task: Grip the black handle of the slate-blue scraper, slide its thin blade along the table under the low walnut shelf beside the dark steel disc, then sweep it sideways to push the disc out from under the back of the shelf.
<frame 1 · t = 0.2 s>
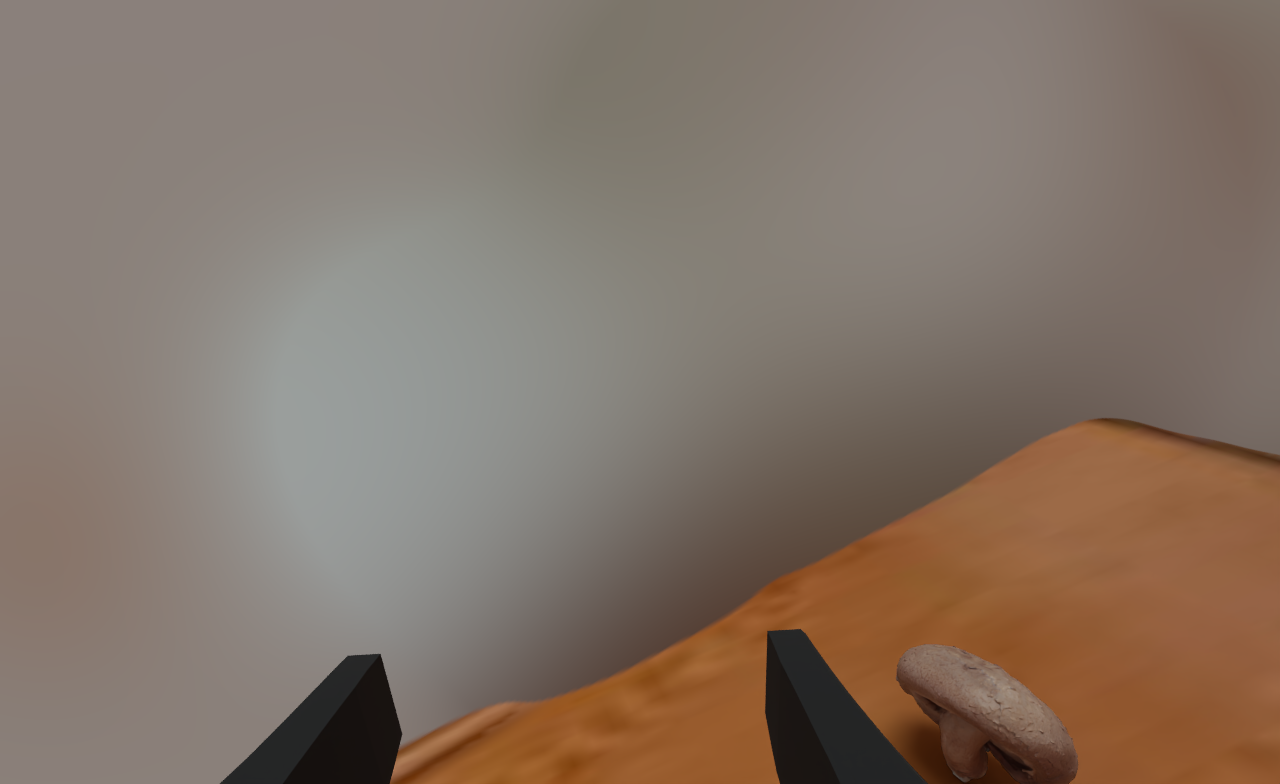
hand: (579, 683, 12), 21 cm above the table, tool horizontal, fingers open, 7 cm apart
mushroom: (967, 783, 31), on the table
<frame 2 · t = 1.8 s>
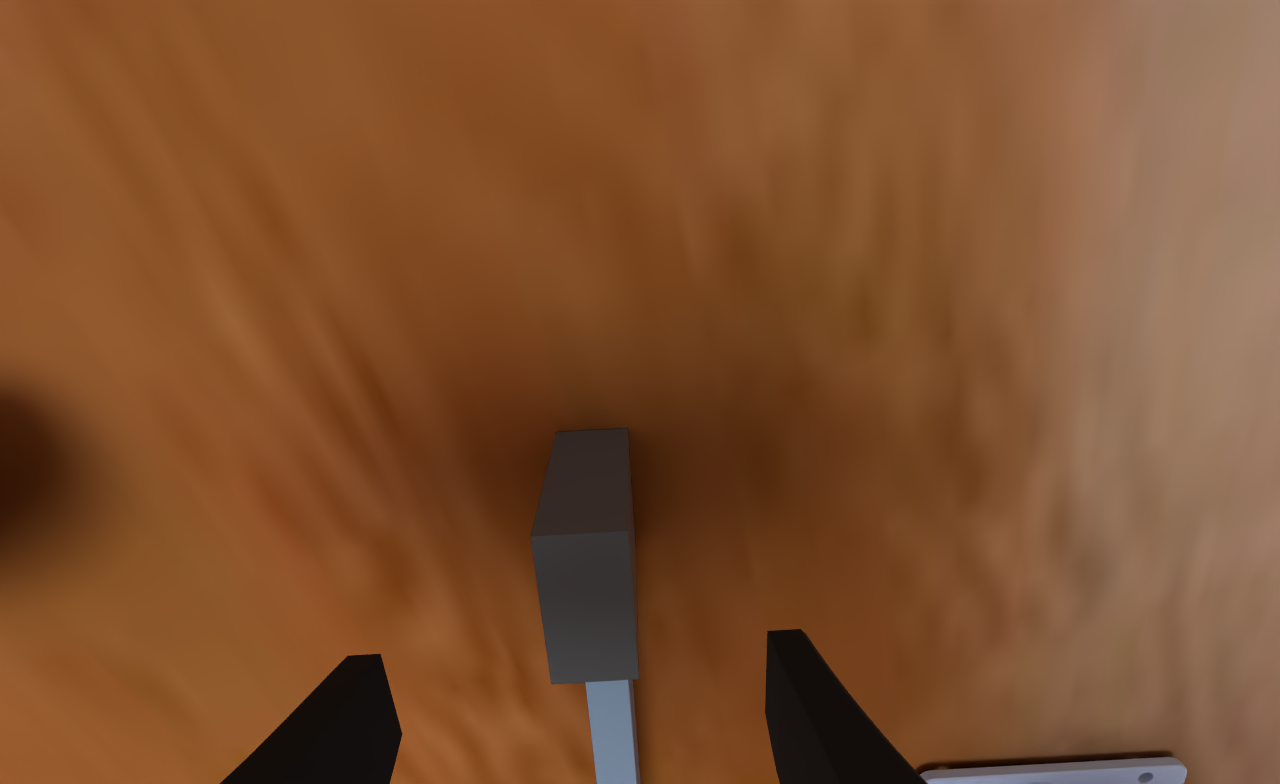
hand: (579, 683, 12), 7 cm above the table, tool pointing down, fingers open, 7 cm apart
scraper: (597, 492, 18), on the table
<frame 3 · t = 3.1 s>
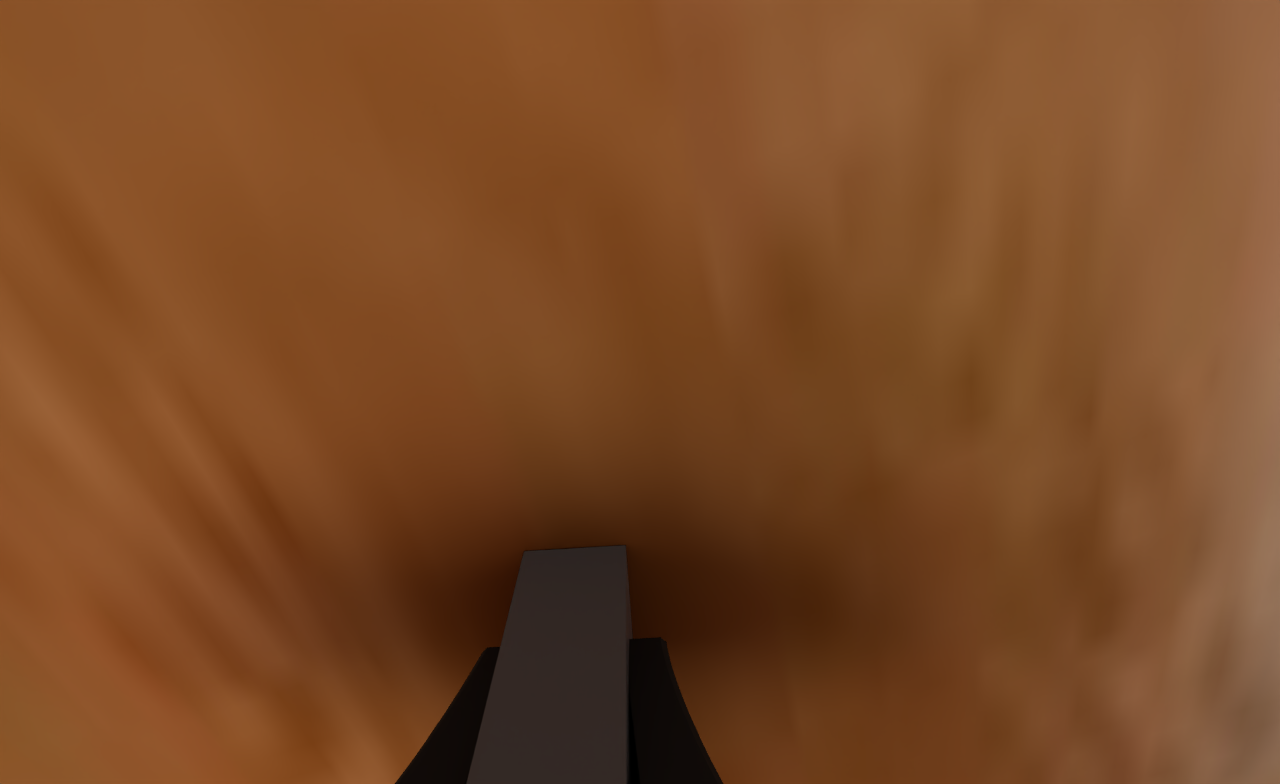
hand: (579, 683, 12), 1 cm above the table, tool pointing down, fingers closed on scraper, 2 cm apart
scraper: (583, 628, 13), on the table, touching gripper
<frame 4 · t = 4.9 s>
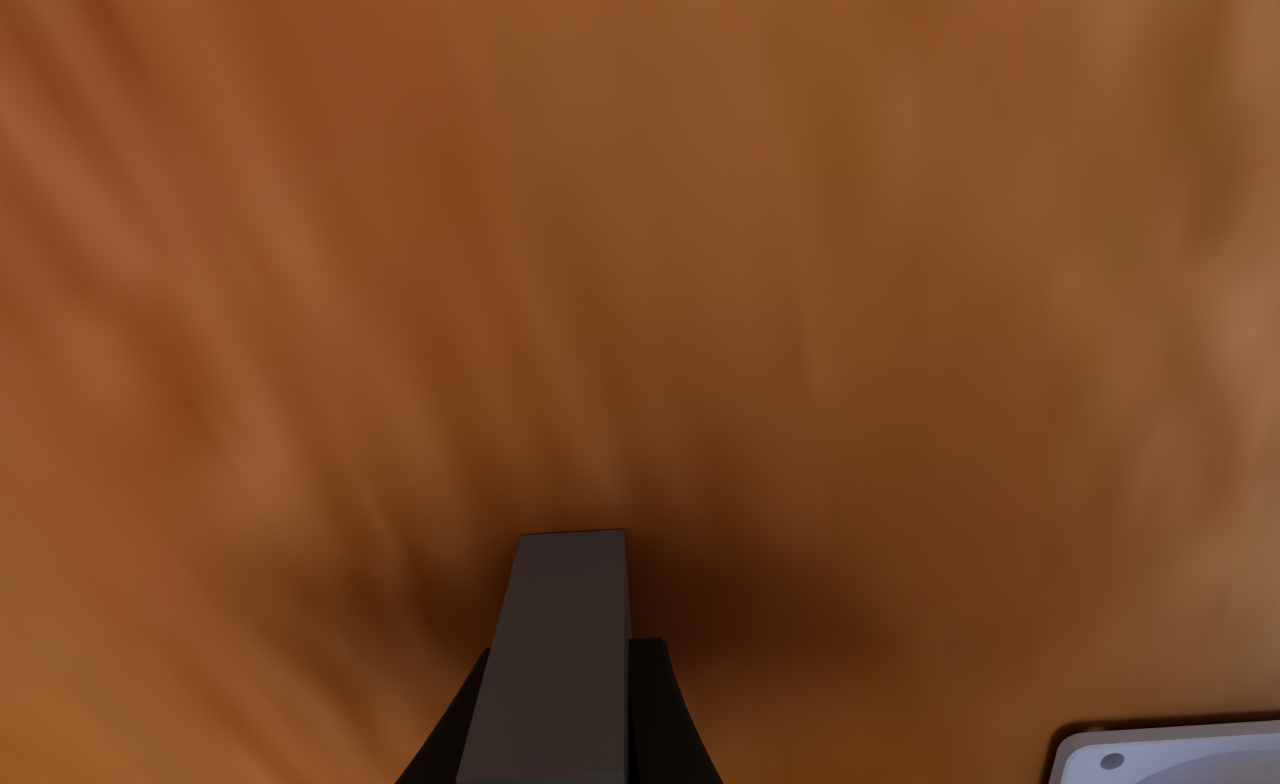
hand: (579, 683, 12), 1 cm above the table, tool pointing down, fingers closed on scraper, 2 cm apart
scraper: (581, 614, 13), on the table, touching gripper
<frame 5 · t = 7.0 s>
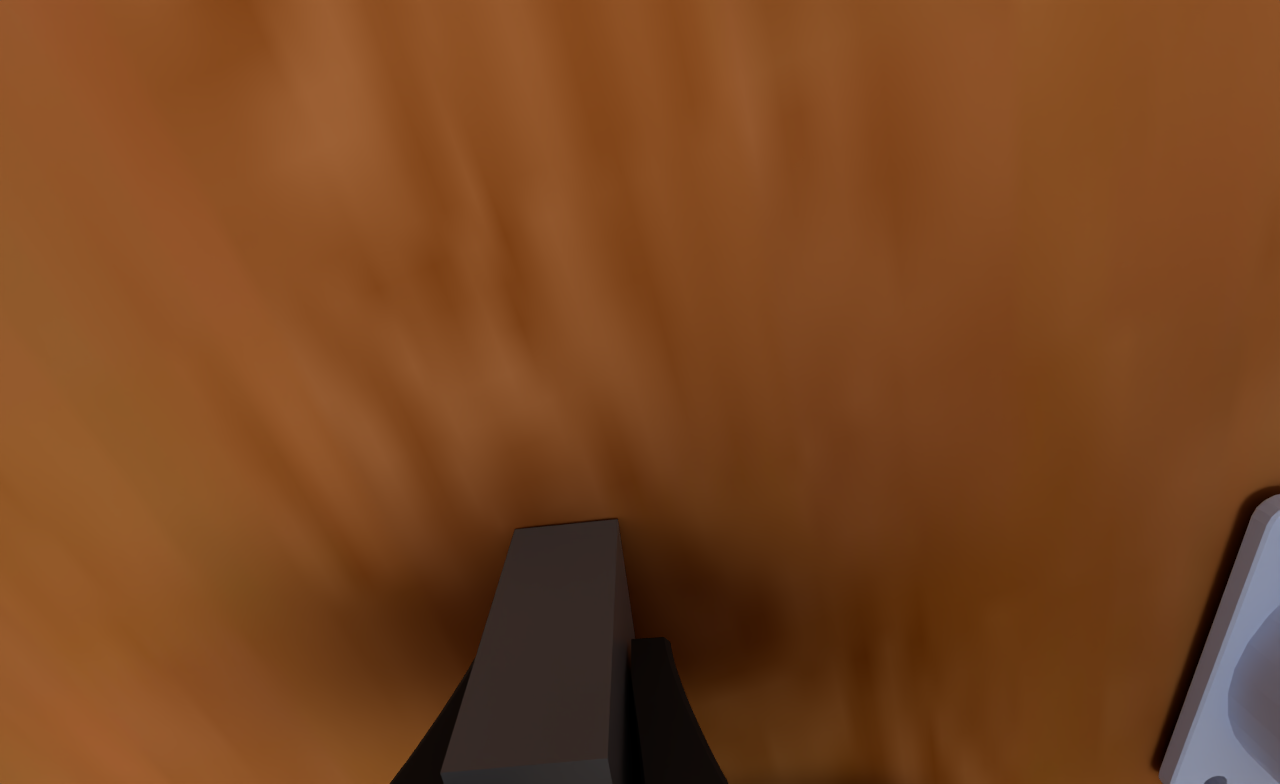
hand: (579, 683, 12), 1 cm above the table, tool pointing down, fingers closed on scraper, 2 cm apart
scraper: (581, 606, 13), on the table, touching gripper, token
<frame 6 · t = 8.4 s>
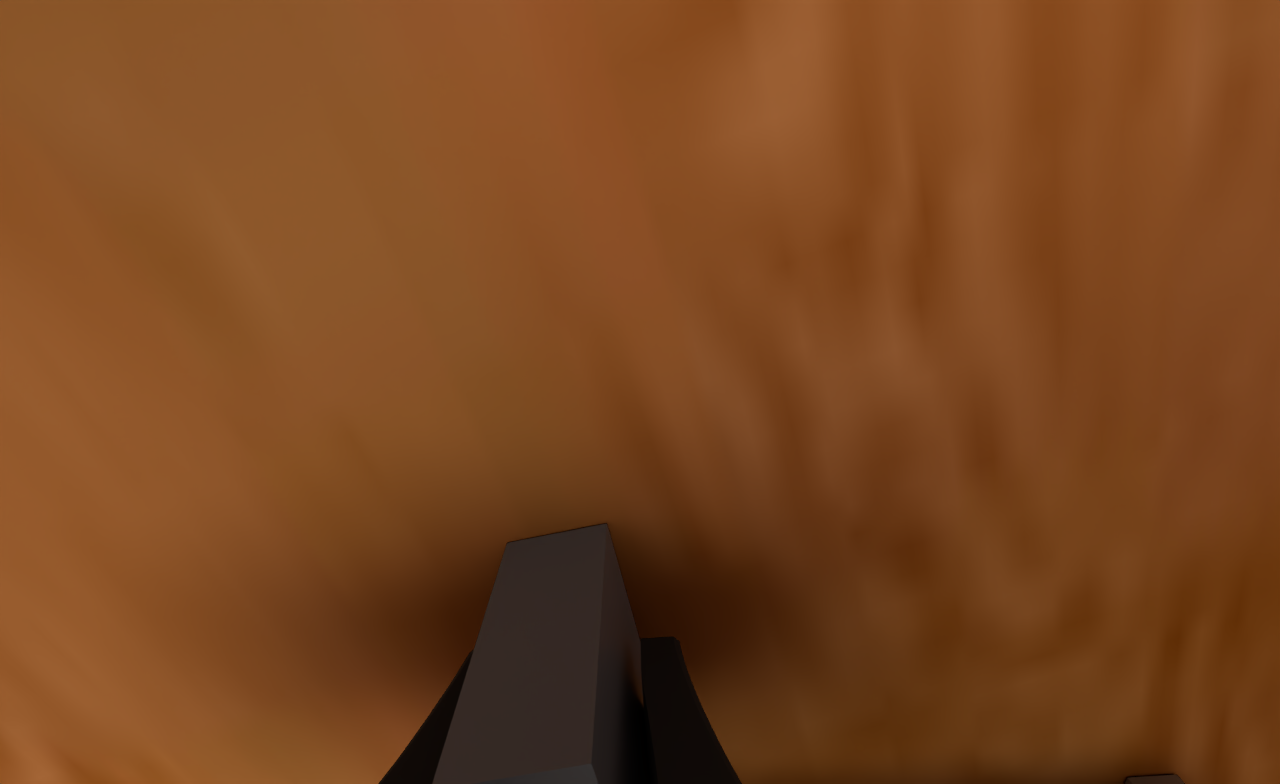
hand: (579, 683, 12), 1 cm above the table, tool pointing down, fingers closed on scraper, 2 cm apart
scraper: (582, 613, 13), on the table, touching gripper, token
when the fingers open (1 cm above the table, at t = 9.6 s): scraper stays where it is, on the table.
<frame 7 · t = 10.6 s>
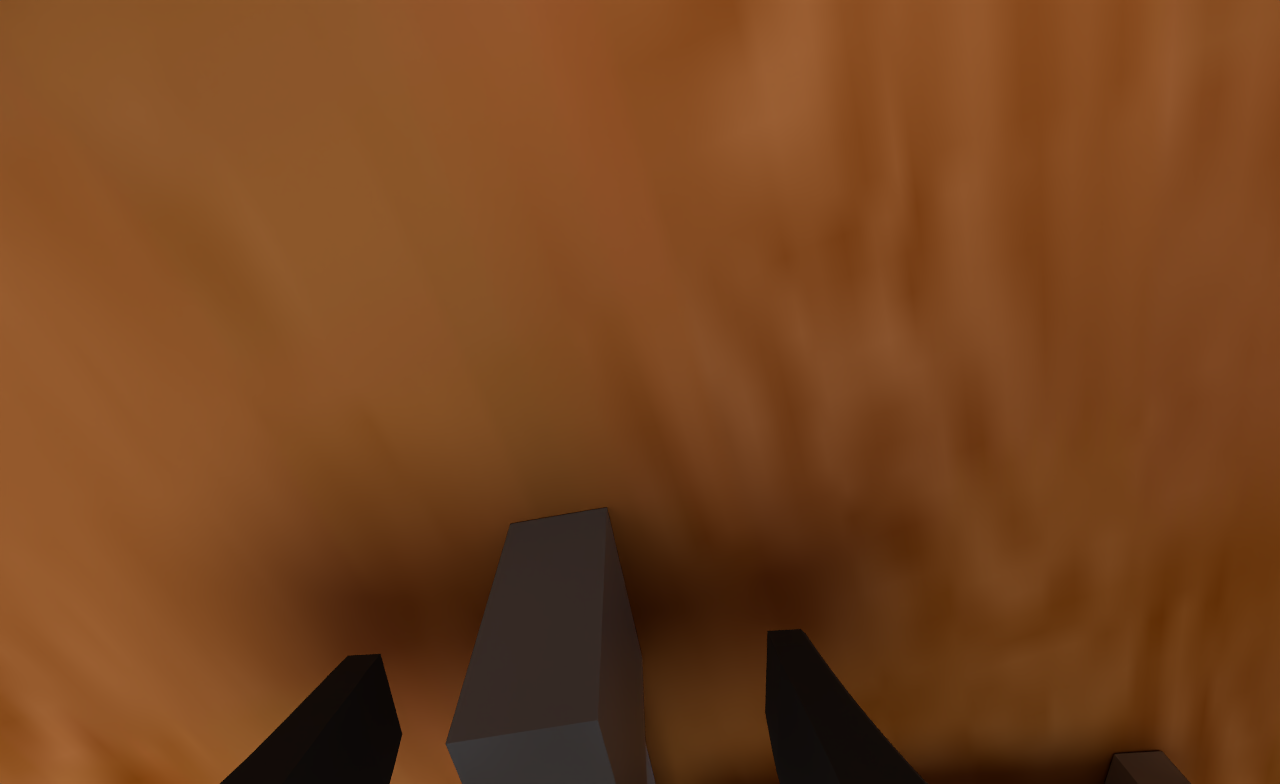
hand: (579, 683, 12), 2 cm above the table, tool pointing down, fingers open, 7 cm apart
scraper: (579, 594, 13), on the table
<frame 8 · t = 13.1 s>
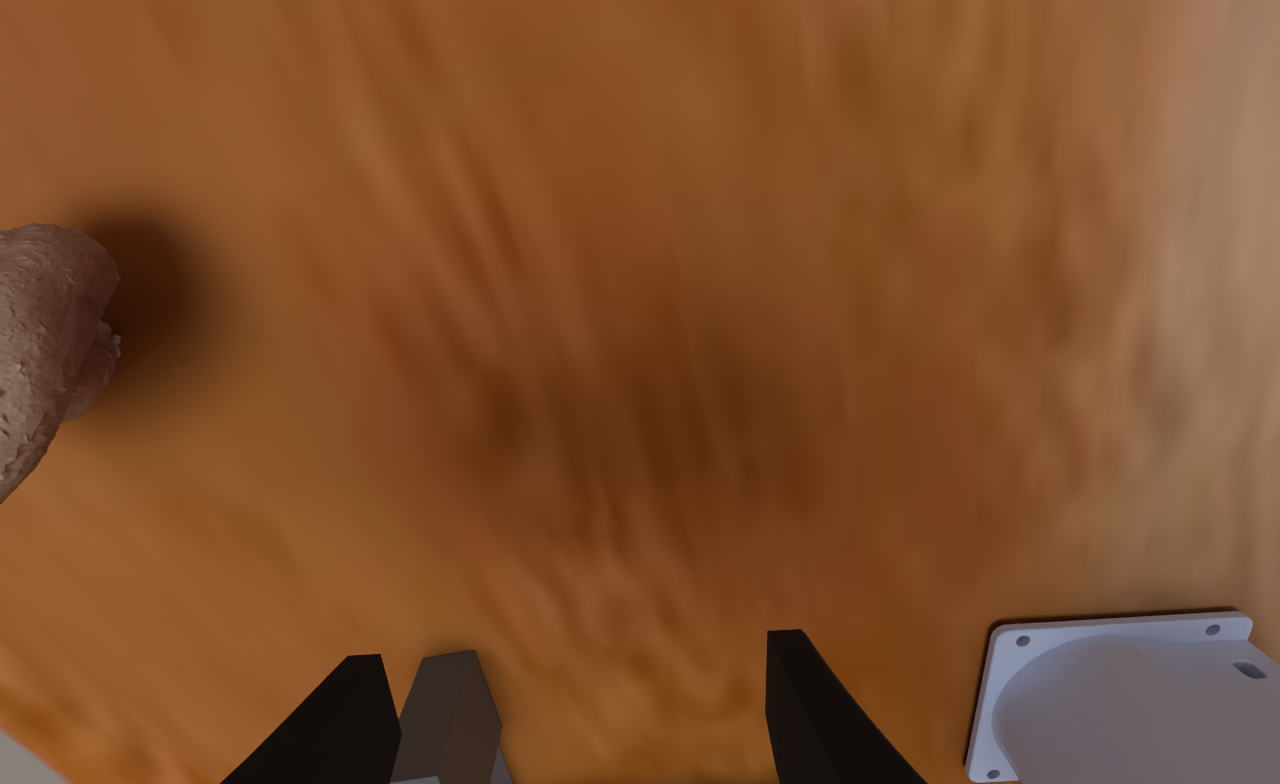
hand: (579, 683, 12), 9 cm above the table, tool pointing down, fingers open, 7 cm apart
scraper: (463, 693, 24), on the table
mushroom: (119, 327, 19), on the table
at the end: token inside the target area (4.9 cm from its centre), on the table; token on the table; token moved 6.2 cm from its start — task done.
